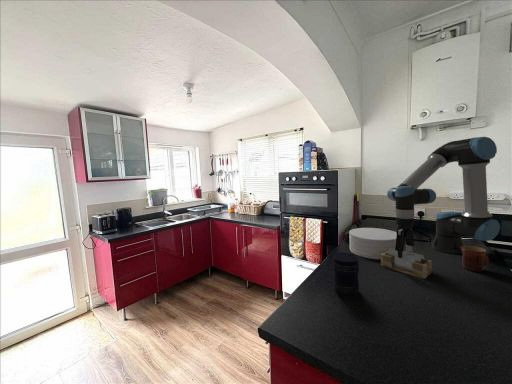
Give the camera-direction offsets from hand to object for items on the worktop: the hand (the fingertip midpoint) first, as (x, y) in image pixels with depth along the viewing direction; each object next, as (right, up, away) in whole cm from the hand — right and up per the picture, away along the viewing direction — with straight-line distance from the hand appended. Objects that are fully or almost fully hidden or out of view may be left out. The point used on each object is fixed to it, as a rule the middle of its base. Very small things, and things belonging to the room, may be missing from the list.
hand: (404, 260), depth 106 cm
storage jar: (-37, -8, -17) cm, 41 cm away
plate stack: (-1, -3, +27) cm, 27 cm away
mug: (+30, -3, -5) cm, 31 cm away
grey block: (0, -4, 0) cm, 4 cm away
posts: (0, -4, 0) cm, 4 cm away
